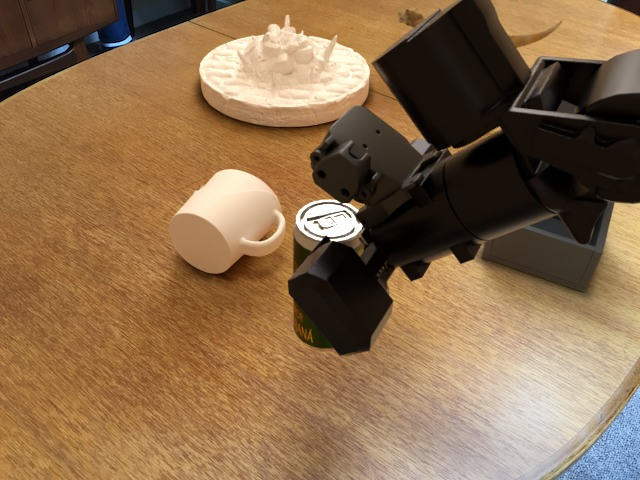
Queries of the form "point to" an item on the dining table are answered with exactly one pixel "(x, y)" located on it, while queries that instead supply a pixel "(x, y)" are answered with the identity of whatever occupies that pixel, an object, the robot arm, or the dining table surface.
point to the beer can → (306, 236)
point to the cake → (284, 78)
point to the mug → (227, 222)
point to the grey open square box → (551, 251)
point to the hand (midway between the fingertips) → (312, 267)
